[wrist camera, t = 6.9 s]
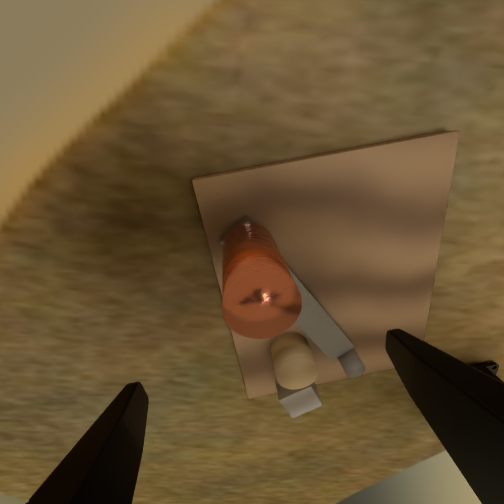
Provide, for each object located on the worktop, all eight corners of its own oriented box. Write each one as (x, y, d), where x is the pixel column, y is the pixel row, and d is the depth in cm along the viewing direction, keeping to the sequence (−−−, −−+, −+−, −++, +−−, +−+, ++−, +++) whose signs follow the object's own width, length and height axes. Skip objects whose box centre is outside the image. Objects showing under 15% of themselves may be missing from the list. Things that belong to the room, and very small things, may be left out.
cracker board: (412, 354, 28) (442, 389, 24) (247, 388, 27) (251, 429, 23) (445, 130, 18) (504, 130, 14) (193, 177, 18) (185, 189, 14)
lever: (354, 333, 23) (410, 418, 16) (321, 353, 24) (361, 444, 17) (251, 207, 17) (271, 257, 10) (211, 239, 18) (204, 306, 11)
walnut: (309, 356, 24) (319, 384, 22) (273, 364, 24) (279, 393, 22) (306, 328, 23) (317, 355, 20) (268, 336, 23) (274, 364, 20)
